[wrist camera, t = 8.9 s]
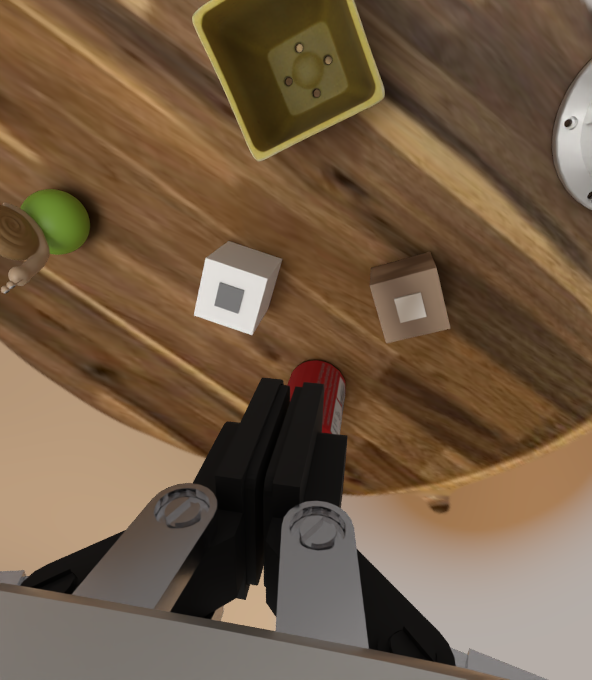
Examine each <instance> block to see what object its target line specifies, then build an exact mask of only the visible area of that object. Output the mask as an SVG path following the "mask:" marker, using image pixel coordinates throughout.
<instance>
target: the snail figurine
mask: <svg viewBox="0 0 592 680" xmlns="http://www.w3.org/2000/svg"><path fill="white" fill-rule="evenodd" d="M89 231H90V220H89V216H88V213H87V211H86V209H85V208H84V206H83V205H82V204H81V203H80V201H79V200H77V199H76V198H75V197H74V196H72V195H70V194H68V193H66V192H64V191H60V190H55V189H45V190H40V191H37V192H35V193H33V194H32V195H30V196H29V197H28V198H27V199H26V200H25V201H24V202H23V204H22V206H21V208H19V207H17V206H14V205H12V204H9V203H3V205H0V255H1V256H3V257H5V258H8V259H12V260H27V261H26V262H25V263H23V264H22V265H21V266H17V267H13V268H11V269H10V271H9V274H8V276H9V279H10V281H9V282H7V286H3V287H2V288H1V291H2V292H3V293H8V292H9V291H10V289H12V288H14V287H15V286H16V285H19V286H23V285H25V284H26V283H28V282H29V281H30V278H31V277H33V276H34V275H35V274H37V273H38V272H39V271H40V270H41V269H42V268H43V267H44V265H45V264H46V262H47V260H48V258H49V254H67V253H70V252H73V251H75V250H76V249H78V248H79V247H81V246H82V245H83V243H84V242H85V241H86V239H87V237H88V235H89Z"/></svg>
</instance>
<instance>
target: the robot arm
mask: <svg viewBox="0 0 592 680" xmlns="http://www.w3.org/2000/svg"><path fill="white" fill-rule="evenodd" d="M567 119H568V120H569V121H570V124H569V126H568V127H565V126H564V122H565V121H566V120H567ZM552 152H553V162H554V165H555V168H556V171H557V174H558V177H559V179H560V181H561V182H562V184H563V186H564V187H565V189H566V191H567V192H568V193H569V194H570V195H571V196H572V197H573V198H574V199H575V200H576V201H577V202H579V203H580V204H582V205H583V206H585V207H587V208H588V209H590V210H592V197H590V198H587V196H588V194H589V193H590V192H592V59H591V60H590V61H589V62H588V63H587V64H586V65H585V67H584V68H583V69H582V70H581V71H580V72H579V73H578V75H577V76H576V78H575V79H574V81H573V82H572V84H571V85H570V87H569V88H568V90H567V92H566V94H565V96H564V98H563V101H562V103H561V105H560V107H559V109H558V113H557V117H556V120H555V124H554V127H553V138H552ZM323 404H324V384H319V383H310V382H304V383H303V386H302V387H297V386H296V387H295V389H294V392H293V395H292V398H291V401H290V386H287V385H283V380H281V379H271V378H262V379H261V381H260V383H259V385H258V387H257V389H256V391H255V393H254V395H253V397H252V399H251V402H250V404H249V406H248V408H247V410H246V412H245V414H244V416H243V418H242V420H241V422H240V423H236V422H226V423H225V424H224V426H223V427H222V429H221V431H220V433H219V435H218V437H217V439H216V440H215V442H214V444H213V446H212V448H211V450H210V452H209V454H208V455H207V457H206V459H205V461H204V463H203V465H202V467H201V469H200V470H199V472H198V474H197V476H196V478H195V480H194V482H193V484H192V483H185V484H177V485H174V486H171V487H168V488H166V489H165V490H163V491H161V492H159V493H158V494H157V495H156V496H155V497H154V498H153V499H152V500H151V501H150V502H149V503H148V504H147V506H146V507H145V508H144V509H143V510H142V512H141V513H140V514H139V515H138V516H137V517H136V519H135V520H134V521H133V522H132V523H131V525H130V526H129V527H128V528H127V529H126V530H125V531H122V532H120V533H118V534H116V535H113V536H111V537H109V538H107V539H104V540H102V541H100V542H97V543H95V544H93V545H90V546H88V547H86V548H84V549H81V550H79V551H77V552H75V553H72V554H70V555H68V556H65V557H63V558H61V559H59V560H56V561H54V562H52V563H50V564H47V565H46V566H44V567H42V568H40V569H38V570H36V571H35V572H34V573H32V574H31V575H30V576H26V574H25V571H24V570H21V571H3V572H2V571H1V572H0V680H547V679H544V678H542V677H539V676H537V675H535V674H532V673H530V672H527V671H525V670H522V669H519V668H517V667H514V666H512V665H509V664H507V663H505V662H502V661H500V660H497V659H495V658H492V657H490V656H487V655H484V654H482V653H479V652H477V651H474V650H472V649H469V651H468V654H465V653H462V652H460V651H458V650H455V649H453V648H450V646H449V644H448V642H447V641H446V640H445V639H444V637H443V636H442V635H441V634H440V632H439V631H438V630H437V629H436V628H435V627H434V626H433V625H432V624H431V623H430V622H429V621H428V620H427V619H426V618H425V617H424V616H423V615H422V614H421V613H420V612H419V611H418V610H417V609H416V608H415V607H414V606H413V605H412V604H411V603H410V602H409V601H408V600H407V599H406V598H405V597H404V596H403V595H402V594H401V593H400V592H399V591H398V590H397V589H396V588H395V587H394V586H393V585H392V584H391V583H390V582H389V581H388V580H387V579H386V578H385V577H384V576H383V575H382V574H381V573H380V572H379V571H378V570H377V569H376V568H375V567H374V566H373V565H372V564H371V563H370V562H369V561H368V560H367V559H366V558H365V557H364V556H363V555H362V554H361V553H360V552H359V551H358V550H357V549H356V540H355V533H354V527H353V524H352V521H351V519H350V517H349V516H348V515H347V513H346V512H345V511H343V510H342V509H341V501H342V492H343V482H344V471H345V460H346V448H347V435H338V434H330V433H322V422H323ZM263 566H264V586H265V587H266V603H267V604H268V606H269V607H270V609H271V610H272V612H273V613H274V615H275V616H276V631H270V630H265V629H260V628H255V627H249V626H244V625H238V624H233V623H227V622H222V621H221V618H222V615H223V606H224V605H225V604H227V603H229V602H230V601H232V600H234V599H235V598H238V599H244V600H246V597H247V593H248V590H249V586H250V584H252V585H258V583H259V580H260V577H261V573H262V569H263Z"/></svg>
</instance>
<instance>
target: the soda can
mask: <svg viewBox="0 0 592 680" xmlns="http://www.w3.org/2000/svg"><path fill="white" fill-rule="evenodd" d="M304 382H310V383H319V384H324V404H323V422H322V433H330V434H338V435H340V428H341V421H342V414H343V406H344V399H345V380H344V378H343V376H342V374H341V372H340V371H339V370H338V369H336V368H335V367H334V366H332V365H331V364H329V363H326V362H323V361H317V360H315V361H307V362H305V363H302V364H300V365H299V366H298V367H296V368H295V369H294V371H293V372H292V374H291V377H290V379H289V382H288V385H287V386H290V401H291V398H292V395H293V392H294V389H295V387H296V386H297V387H302V386H303V383H304Z"/></svg>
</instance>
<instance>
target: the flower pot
mask: <svg viewBox="0 0 592 680" xmlns="http://www.w3.org/2000/svg"><path fill="white" fill-rule="evenodd" d="M192 21H193V25H194V27H195V29H196V32H197V34H198V36H199V38H200V40H201V43H202V45H203V46H204V49H205V51H206V53H207V55H208V57H209V59H210V61H211V63H212V65H213V68H214V70H215V72H216V74H217V76H218V78H219V80H220V83H221V85H222V87H223V89H224V91H225V94H226V96H227V98H228V100H229V103H230V105H231V108H232V110H233V112H234V114H235V117H236V119H237V122H238V124H239V126H240V128H241V131H242V133H243V136H244V138H245V141H246V143H247V145H248V148H249V150H250V152H251V154H252V156H253V157H254V159H255V160H256V161H263V160H265V159H267V158H269V157H271V156H273V155H275V154H277V153H279V152H280V151H282V150H284V149H286V148H288V147H290V146H292V145H294V144H296V143H298V142H300V141H302V140H304V139H306V138H308V137H310V136H312V135H314V134H316V133H319V132H321V131H323V130H325V129H327V128H329V127H331V126H333V125H335V124H337V123H339V122H341V121H343V120H345V119H347V118H349V117H351V116H353V115H355V114H357V113H359V112H361V111H363V110H366V109H368V108H370V107H372V106H374V105H376V104H377V103H379V102H380V101H382V99H383V98H384V96H385V90H384V86H383V83H382V80H381V77H380V74H379V72H378V69H377V66H376V63H375V61H374V58H373V55H372V52H371V49H370V46H369V43H368V40H367V37H366V35H365V32H364V29H363V26H362V23H361V20H360V16H359V13H358V11H357V8H356V5H355V2H354V0H211V1H209V2H207V3H206V4H204V5H203V6H202V7H200V8H199V9H198V10H197V11H196V12H195V13H194V15H193V17H192ZM297 44H302V46H303V50H302V52H297V51H296V49H295V47H296V45H297ZM326 56H331V58H332V62H331V63H330V64H329V65H327V64H325V62H324V59H325V57H326ZM287 77H290V78H291V79H292V84H291V85H290V86H288V85H286V84H285V80H286V78H287ZM315 89H318V90H320V96H319V97H314V96H313V91H314V90H315Z"/></svg>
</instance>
